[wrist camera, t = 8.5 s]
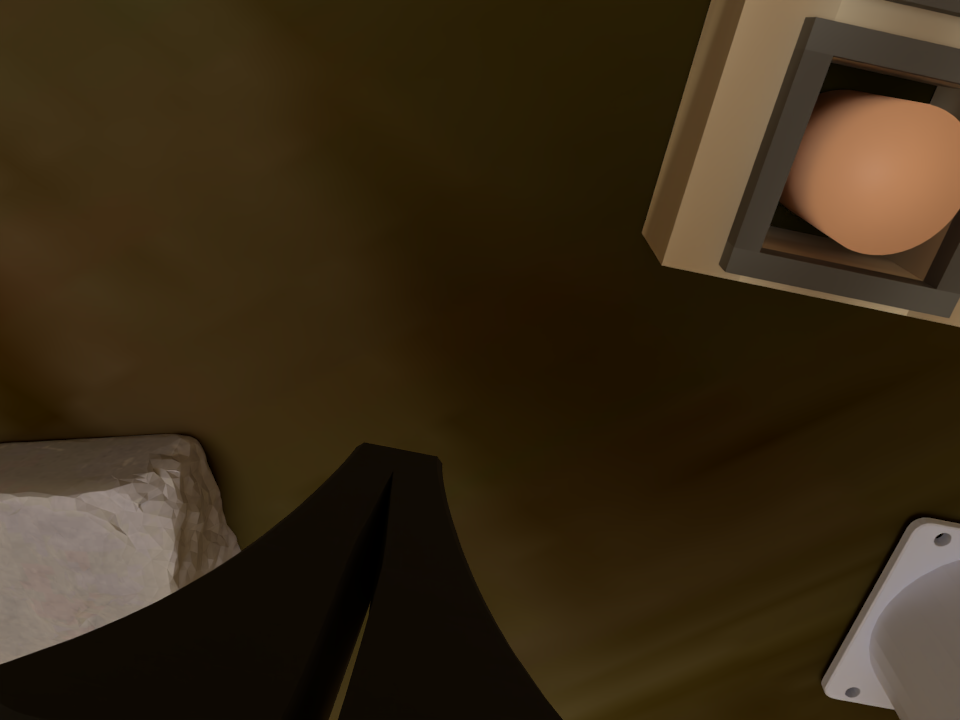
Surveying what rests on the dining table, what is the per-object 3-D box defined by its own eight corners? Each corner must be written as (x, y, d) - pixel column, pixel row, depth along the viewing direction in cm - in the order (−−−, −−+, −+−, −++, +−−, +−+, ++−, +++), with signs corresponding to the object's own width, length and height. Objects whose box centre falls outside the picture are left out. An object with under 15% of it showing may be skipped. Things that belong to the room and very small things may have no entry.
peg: (919, 104, 18) (1002, 120, 15) (865, 229, 19) (931, 268, 16) (794, 76, 18) (852, 87, 15) (748, 204, 19) (793, 239, 16)
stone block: (287, 598, 29) (204, 405, 23) (249, 718, 25) (136, 522, 19) (13, 603, 30) (-132, 422, 24) (-64, 717, 26) (-258, 534, 20)
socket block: (1173, -238, 15) (1353, -310, 12) (918, 290, 20) (996, 340, 17) (808, -326, 15) (890, -425, 12) (641, 232, 20) (666, 272, 17)
